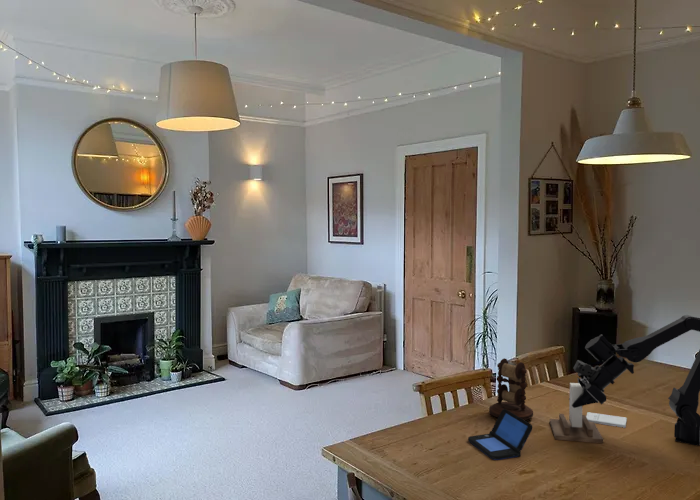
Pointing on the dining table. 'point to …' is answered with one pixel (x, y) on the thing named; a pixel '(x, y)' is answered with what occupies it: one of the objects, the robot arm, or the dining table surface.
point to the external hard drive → (607, 419)
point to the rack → (575, 430)
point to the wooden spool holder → (511, 391)
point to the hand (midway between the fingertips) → (571, 403)
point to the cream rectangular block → (576, 413)
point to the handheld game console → (504, 437)
